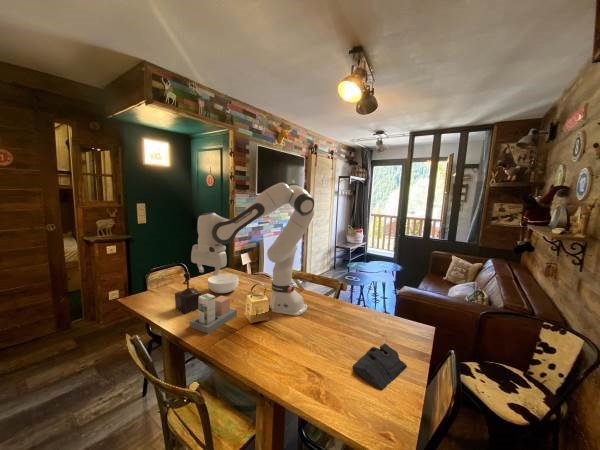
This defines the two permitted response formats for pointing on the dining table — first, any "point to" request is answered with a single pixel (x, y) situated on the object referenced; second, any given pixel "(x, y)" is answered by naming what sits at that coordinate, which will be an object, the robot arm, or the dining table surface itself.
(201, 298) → the syrup box
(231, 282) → the bowl
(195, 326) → the tray
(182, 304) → the manual coffee grinder
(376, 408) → the dining table surface
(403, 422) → the dining table surface
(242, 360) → the dining table surface
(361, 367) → the dark slate chunk
